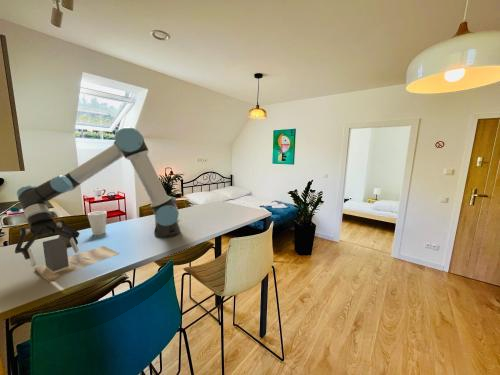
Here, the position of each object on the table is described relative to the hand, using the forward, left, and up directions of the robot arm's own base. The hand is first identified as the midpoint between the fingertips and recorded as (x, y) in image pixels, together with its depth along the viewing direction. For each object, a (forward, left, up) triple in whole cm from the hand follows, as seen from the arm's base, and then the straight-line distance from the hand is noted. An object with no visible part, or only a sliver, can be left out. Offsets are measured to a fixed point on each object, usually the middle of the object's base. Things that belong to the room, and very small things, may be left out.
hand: (56, 257), depth 87 cm
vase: (+19, -26, -6) cm, 33 cm away
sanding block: (+1, -1, -5) cm, 5 cm away
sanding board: (-3, -8, -6) cm, 10 cm away
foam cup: (+15, -44, -6) cm, 47 cm away
